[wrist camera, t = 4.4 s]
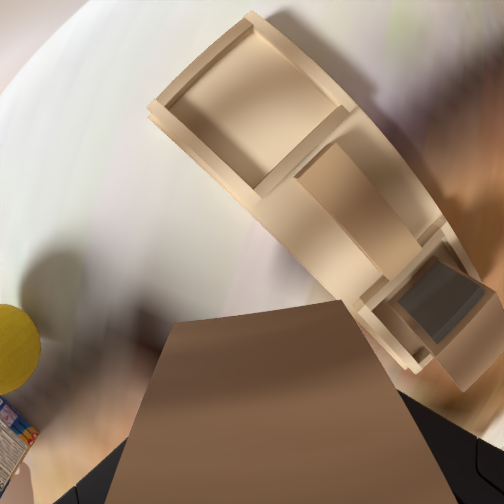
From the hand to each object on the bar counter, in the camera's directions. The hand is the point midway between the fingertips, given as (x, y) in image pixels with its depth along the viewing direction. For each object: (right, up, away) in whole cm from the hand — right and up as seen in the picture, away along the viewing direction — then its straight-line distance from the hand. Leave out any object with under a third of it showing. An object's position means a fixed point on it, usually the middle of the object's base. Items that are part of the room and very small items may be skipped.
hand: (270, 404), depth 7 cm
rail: (+5, +6, +10) cm, 13 cm away
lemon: (-17, -2, +12) cm, 21 cm away
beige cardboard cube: (0, 0, +1) cm, 1 cm away
